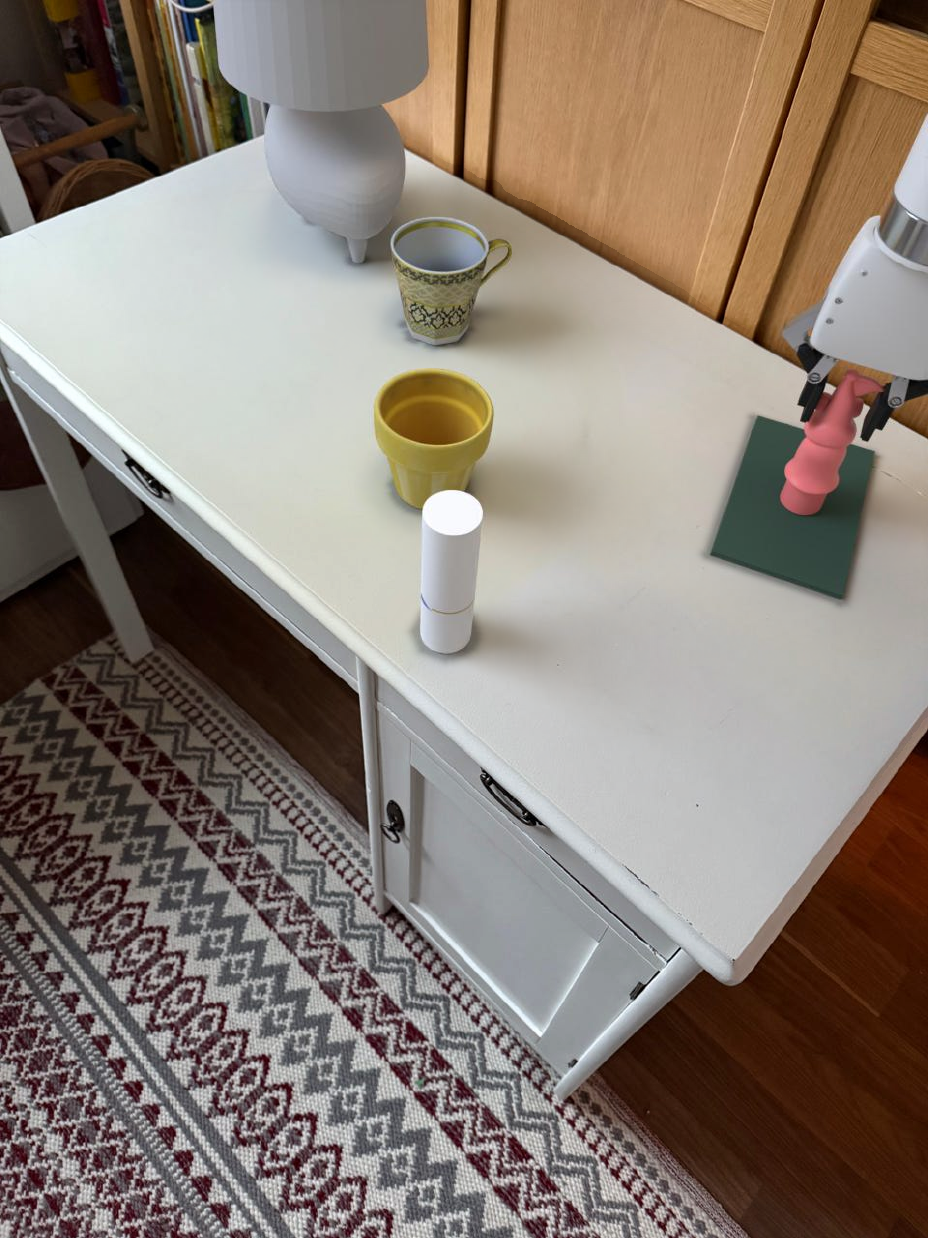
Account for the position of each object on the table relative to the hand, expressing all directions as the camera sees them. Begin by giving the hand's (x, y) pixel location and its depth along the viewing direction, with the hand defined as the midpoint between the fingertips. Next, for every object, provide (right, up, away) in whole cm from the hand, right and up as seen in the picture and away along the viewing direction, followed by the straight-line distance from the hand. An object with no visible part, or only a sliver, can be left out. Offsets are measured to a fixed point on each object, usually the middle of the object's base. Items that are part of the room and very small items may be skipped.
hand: (836, 419), depth 79 cm
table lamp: (-47, +29, +31) cm, 64 cm away
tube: (-34, -18, -2) cm, 39 cm away
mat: (0, -6, +9) cm, 11 cm away
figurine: (0, -6, +8) cm, 10 cm away
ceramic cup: (-34, +15, +22) cm, 43 cm away
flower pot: (-35, -5, +8) cm, 37 cm away
